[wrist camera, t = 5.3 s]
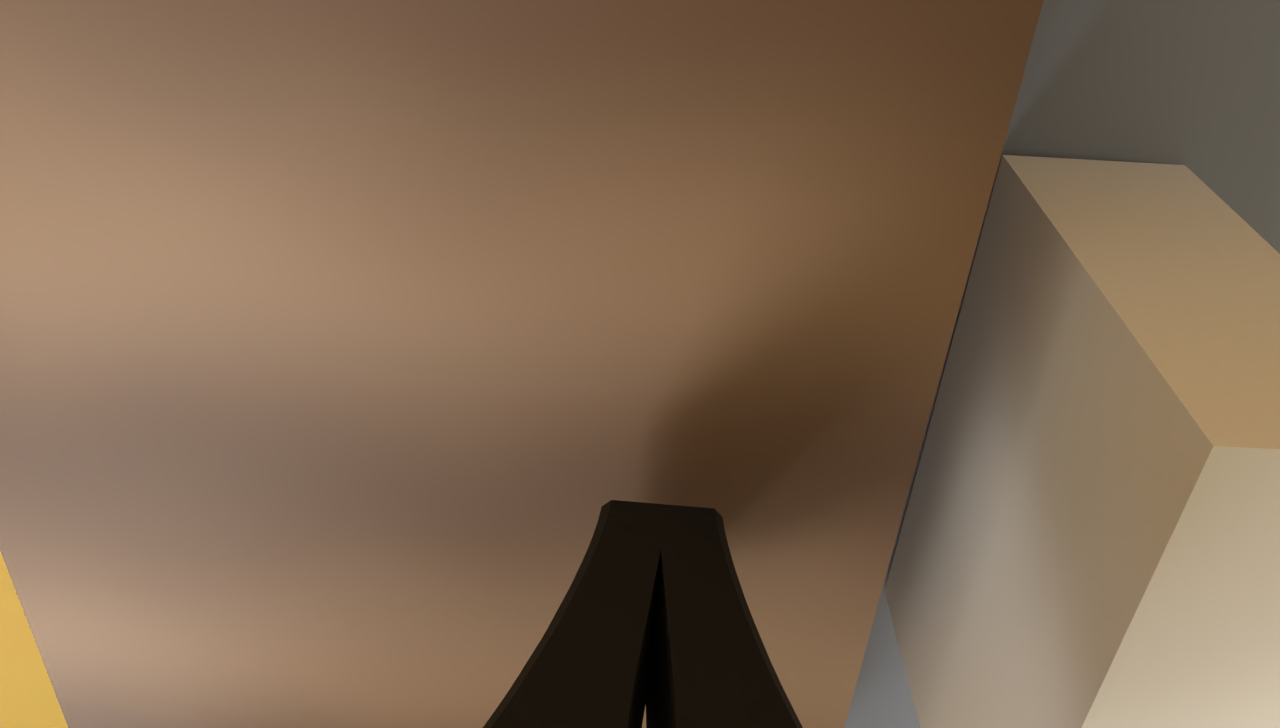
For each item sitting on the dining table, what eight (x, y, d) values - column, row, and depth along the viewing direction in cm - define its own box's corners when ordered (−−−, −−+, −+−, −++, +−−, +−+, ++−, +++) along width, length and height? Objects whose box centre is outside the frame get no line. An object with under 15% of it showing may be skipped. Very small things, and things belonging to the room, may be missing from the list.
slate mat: (1375, 794, 21) (1386, 812, 21) (782, 741, 21) (784, 758, 21) (2160, -224, 11) (2204, -220, 11) (1018, -310, 11) (1027, -311, 11)
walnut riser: (782, 741, 21) (793, 912, 18) (197, 689, 21) (116, 850, 18) (1018, -310, 11) (1125, -300, 8) (-94, -397, 11) (-372, -416, 8)
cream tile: (884, 591, 18) (1022, 597, 18) (977, 949, 13) (1167, 954, 13) (1002, 154, 13) (1184, 165, 14) (1212, 446, 9) (1500, 458, 9)
